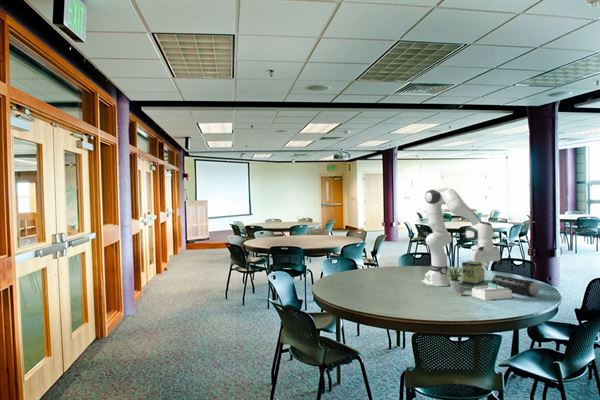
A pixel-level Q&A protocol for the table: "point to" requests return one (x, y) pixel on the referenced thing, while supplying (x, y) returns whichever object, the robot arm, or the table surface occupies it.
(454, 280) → the house plant
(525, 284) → the muzzle brake
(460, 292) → the plug
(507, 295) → the socket box
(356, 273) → the table surface
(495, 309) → the table surface
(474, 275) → the protein box
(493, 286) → the shutter
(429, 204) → the robot arm
